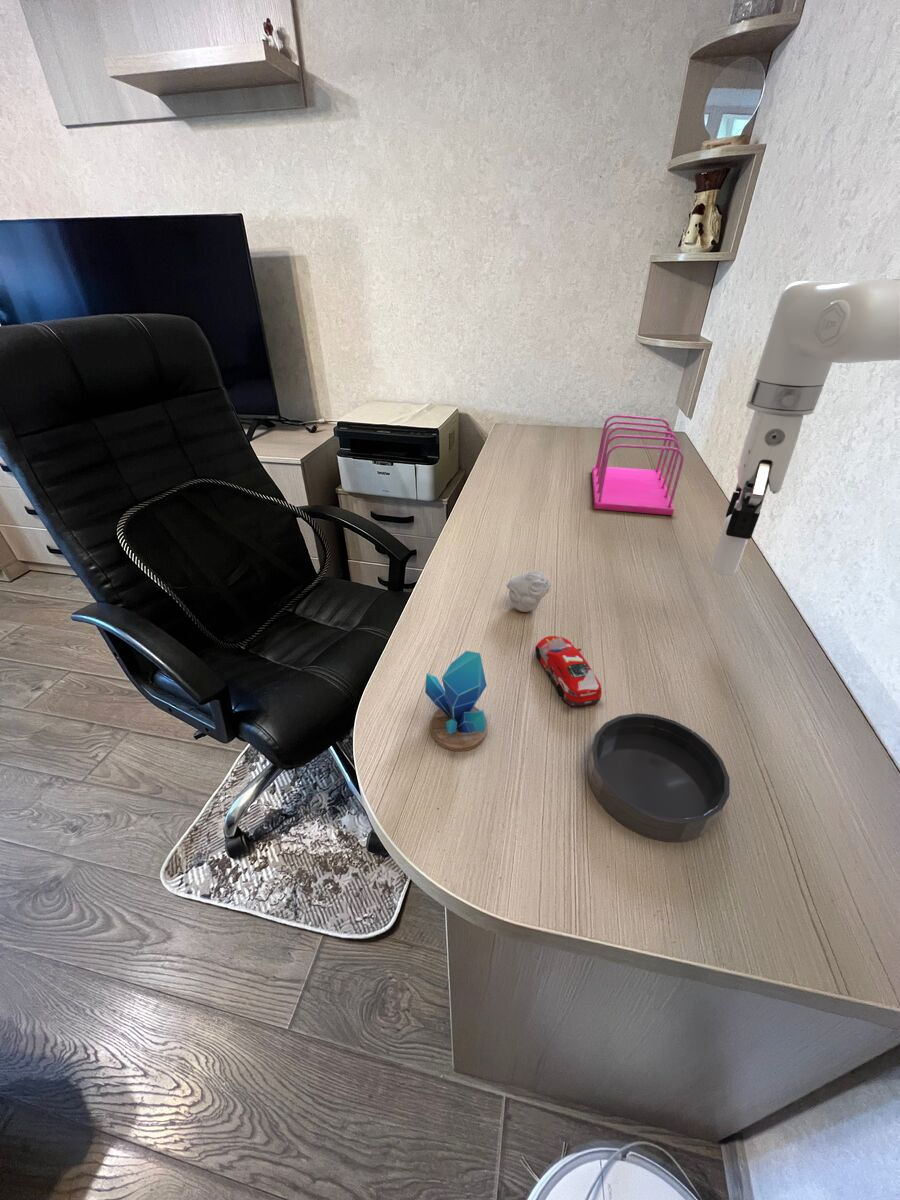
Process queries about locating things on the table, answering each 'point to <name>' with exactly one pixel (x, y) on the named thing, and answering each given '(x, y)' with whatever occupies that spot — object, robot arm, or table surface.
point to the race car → (568, 671)
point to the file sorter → (635, 474)
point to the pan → (657, 777)
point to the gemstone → (458, 704)
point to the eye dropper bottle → (728, 551)
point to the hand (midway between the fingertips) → (737, 526)
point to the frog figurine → (528, 590)
